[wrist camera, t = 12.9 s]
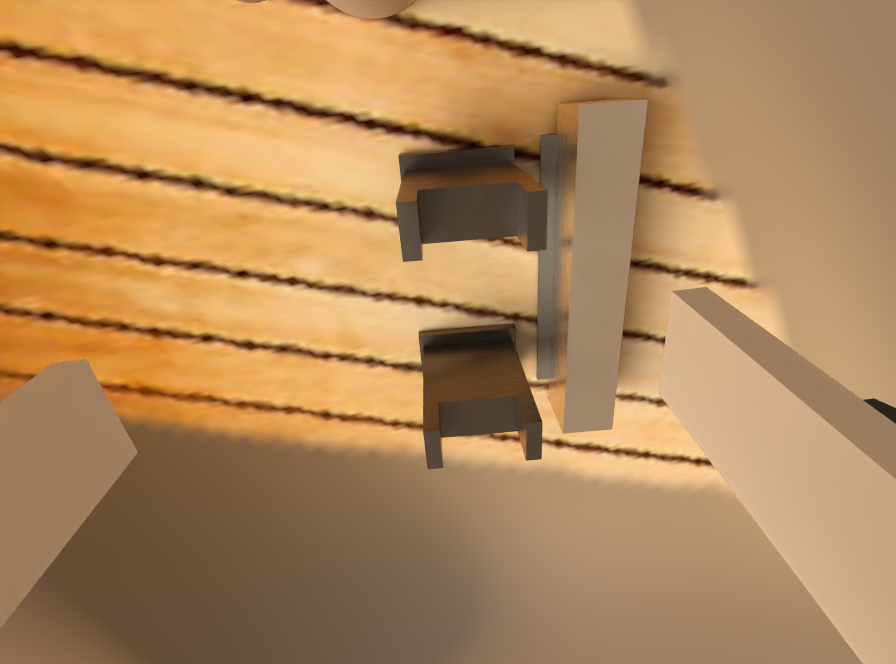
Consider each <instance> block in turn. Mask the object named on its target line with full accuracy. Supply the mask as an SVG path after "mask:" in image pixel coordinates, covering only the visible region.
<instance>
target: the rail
mask: <svg viewBox="0 0 896 664" xmlns="http://www.w3.org/2000/svg"><path fill="white" fill-rule="evenodd" d="M647 103H648V99H612V100H599V101H587V102H574V103H561V104H557V134H556V166H555V198H554V230H553V262H552V294H551V326H550V358H549V390H548V399H549V401H550V403H551V406H552V408H553V411H554V413H555V416H556V418H557V420H558V423H559V425H560V428H561V430H562V432H563V433H574V432H586V431H597V430H609V429H612V425H613V415H614V406H615V397H616V388H617V379H618V369H619V360H620V351H621V342H622V333H623V324H624V314H625V305H626V296H627V287H628V278H629V269H630V259H631V250H632V241H633V232H634V223H635V213H636V204H637V195H638V186H639V177H640V168H641V158H642V149H643V140H644V131H645V122H646V113H647Z"/></svg>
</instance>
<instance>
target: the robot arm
mask: <svg viewBox="0 0 896 664" xmlns="http://www.w3.org/2000/svg"><path fill="white" fill-rule="evenodd" d="M659 394H660V396H661V397H662V398H663V400H664V401H665V402H666V404H667V405H668V406H669V407H670V409H671V410H672V411H673V413H674V414H675V415H676V417H677V418H678V419H679V421H680V422H681V423H682V425H683V426H684V427H685V429H686V430H687V431H688V433H689V434H690V435H691V437H692V438H693V439H694V441H695V442H696V443H697V445H698V446H699V447H700V449H701V450H702V451H703V452H704V454H705V455H706V456H707V458H708V459H709V460H710V462H711V463H712V464H713V466H714V467H715V468H716V470H717V471H718V472H719V474H720V475H721V476H722V478H723V479H724V480H725V482H726V483H727V484H728V486H729V487H730V488H731V490H732V491H733V492H734V494H735V495H736V496H737V497H738V499H739V500H740V501H741V503H742V504H743V505H744V507H745V508H746V509H747V511H748V512H749V513H750V514H751V516H752V517H753V519H754V520H755V521H756V522H757V524H758V525H759V527H760V528H761V529H762V531H763V532H764V533H765V535H766V536H767V537H768V539H769V540H770V541H771V543H772V544H773V545H774V546H775V548H776V549H777V550H778V552H779V553H780V554H781V556H782V557H783V558H784V560H785V561H786V562H787V564H788V565H789V566H790V568H791V569H792V570H793V572H794V573H795V574H796V576H797V577H798V578H799V580H800V581H801V582H802V583H803V584H804V586H805V588H806V589H807V590H808V591H809V593H810V594H811V595H812V597H813V598H814V599H815V601H816V602H817V603H818V605H819V606H820V607H821V609H822V610H823V611H824V613H825V614H826V615H827V617H828V618H829V619H830V621H831V622H832V623H833V624H834V626H835V627H836V629H837V630H838V631H839V632H840V634H841V635H842V636H843V638H844V639H845V640H846V642H847V643H848V644H849V646H850V647H851V648H852V650H853V651H854V652H855V654H856V655H857V656H858V658H859V659H860V660H861V662H862V663H863V664H896V408H894V407H892V406H890V405H888V404H885V403H883V402H881V401H878V400H876V399H866V400H862V399H860V398H859V397H858V396H856V395H855V394H854V393H852V392H851V391H849V390H848V389H847V388H845V387H844V386H843V385H841V384H840V383H838V382H837V381H836V380H834V379H833V378H831V377H830V376H829V375H827V374H826V373H824V372H823V371H822V370H820V369H819V368H818V367H816V366H815V365H813V364H812V363H811V362H809V361H808V360H807V359H805V358H804V357H802V356H801V355H800V354H798V353H797V352H795V351H794V350H793V349H791V348H790V347H789V346H787V345H786V344H784V343H783V342H782V341H780V340H779V339H777V338H776V337H775V336H773V335H772V334H771V333H769V332H768V331H766V330H765V329H764V328H762V327H761V326H759V325H758V324H757V323H755V322H754V321H753V320H751V319H750V318H748V317H747V316H746V315H744V314H743V313H741V312H740V311H739V310H737V309H736V308H735V307H733V306H732V305H730V304H729V303H728V302H726V301H725V300H723V299H722V298H721V297H719V296H718V295H717V294H715V293H714V292H712V291H711V290H710V289H708V288H707V287H704V288H695V289H687V290H678V291H672V292H671V300H670V308H669V316H668V324H667V332H666V340H665V348H664V355H663V363H662V371H661V379H660V387H659ZM136 454H137V450H136V448H135V447H134V445H133V443H132V441H131V439H130V438H129V436H128V434H127V432H126V430H125V429H124V427H123V425H122V423H121V421H120V420H119V418H118V416H117V414H116V412H115V411H114V409H113V407H112V405H111V403H110V402H109V400H108V398H107V396H106V394H105V393H104V391H103V389H102V387H101V385H100V384H99V382H98V380H97V378H96V376H95V375H94V373H93V371H92V369H91V367H90V365H89V364H88V362H87V360H86V359H85V360H77V361H68V362H60V363H52V364H51V365H50V366H48V367H47V368H46V369H44V370H43V371H42V372H40V373H39V374H38V375H36V376H35V377H34V378H32V379H31V380H30V381H28V382H27V383H26V384H24V385H23V386H22V387H20V388H19V389H18V390H16V391H15V392H14V393H12V394H11V395H10V396H8V397H7V398H6V399H4V400H3V401H2V402H0V628H1V627H2V625H3V624H4V623H5V622H6V620H7V619H8V618H9V616H10V615H11V614H12V612H13V611H14V610H15V609H16V608H17V606H18V605H19V604H20V602H21V601H22V600H23V599H24V597H25V596H26V595H27V593H28V592H29V591H30V589H31V588H32V587H33V586H34V585H35V583H36V582H37V581H38V579H39V578H40V577H41V576H42V574H43V573H44V572H45V570H46V569H47V568H48V567H49V565H50V564H51V563H52V561H53V560H54V559H55V558H56V556H57V555H58V554H59V552H60V551H61V550H62V549H63V547H64V546H65V545H66V544H67V542H68V541H69V540H70V538H71V537H72V536H73V534H74V533H75V532H76V531H77V529H78V528H79V527H80V526H81V524H82V523H83V522H84V521H85V519H86V518H87V517H88V515H89V514H90V513H91V512H92V510H93V509H94V508H95V506H96V505H97V504H98V502H99V501H100V500H101V499H102V497H103V496H104V495H105V494H106V492H107V491H108V490H109V488H110V487H111V486H112V485H113V483H114V482H115V481H116V480H117V478H118V477H119V476H120V474H121V473H122V472H123V471H124V469H125V468H126V467H127V465H128V464H129V463H130V461H131V460H132V459H133V458H134V456H135V455H136Z"/></svg>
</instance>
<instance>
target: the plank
mask: <svg viewBox="0 0 896 664" xmlns="http://www.w3.org/2000/svg"><path fill="white" fill-rule="evenodd" d="M555 166H556V134H551V135H541V139H540V185H542V186H543V187H544V188H546V189H547V190H548V209H547V250H540V251H539V261H538V321H537V380H539V379H549V358H550V326H551V294H552V262H553V230H554V198H555Z"/></svg>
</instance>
